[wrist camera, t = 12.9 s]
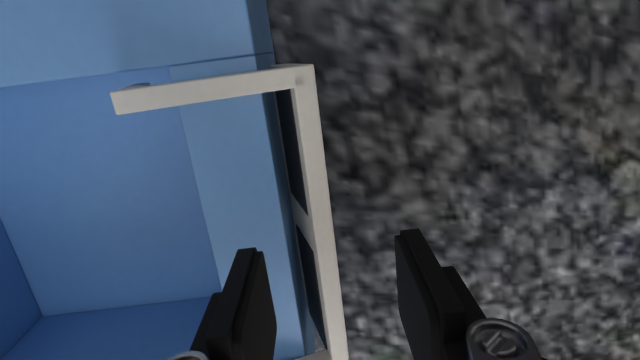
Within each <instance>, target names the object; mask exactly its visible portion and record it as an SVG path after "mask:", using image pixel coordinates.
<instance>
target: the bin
mask: <svg viewBox="0 0 640 360" xmlns="http://www.w3.org/2000/svg"><path fill="white" fill-rule="evenodd" d="M271 65H276V63H275V56H274V50H273V43H272V37H271V30H270V23H269V17H268V10H267V3H266V0H0V360H165V359H167V358H168V357H170V356H172V355H174V354H177V353H180V352H184V351H189V350H190V347H191V345H192V342H193V340H194V338H195V335H196V333H197V330H198V328H199V325H200V323H201V320H202V318H203V315H204V313H205V310H206V308H207V306H208V303H209V301H210V298H211V296H212V294H213V293H217V292H222V290H223V288H224V285H225V282H226V279H227V277H228V274H229V271H230V269H231V266H232V263H233V260H234V258H235V255H236V252H237V250H238V249H244V248H252V247H256V249H257V251H263V253H264V258H265V263H266V268H267V274H268V279H269V284H270V289H271V294H272V300H273V305H274V310H275V315H276V321H277V335H276V343H275V350H274V358H273V360H295V359H298V358H301V357H304V356H307V355H310V354H313V353H315V340H314V325H313V323H312V321H311V318H310V316H309V314H308V310H307V304H306V298H305V291H304V285H303V278H302V272H301V266H300V259H299V253H298V247H297V240H296V234H295V228H294V221H293V215H292V209H291V202H290V196H289V189H288V183H287V177H286V170H285V164H284V158H283V151H282V145H281V139H280V132H279V126H278V119H277V113H276V107H275V100H274V94H273V91H272V92H266V93H259V94H253V95H246V96H239V97H233V98H226V99H220V100H213V101H207V102H200V103H193V104H187V105H180V106H174V107H167V108H161V109H154V110H148V111H141V112H134V113H128V114H121V115H116V113H115V110H114V106H113V103H112V100H111V96H110V92H112V91H115V90H118V89H121V88H124V87H127V86H130V85H132V84H137V83H145V82H150V84H151V85H158V84H165V83H172V82H180V81H187V80H194V79H201V78H209V77H216V76H223V75H230V74H238V73H245V72H252V71H259V70H267V69H269V67H270V66H271Z"/></svg>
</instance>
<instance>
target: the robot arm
mask: <svg viewBox="0 0 640 360" xmlns="http://www.w3.org/2000/svg"><path fill="white" fill-rule="evenodd" d="M394 239H395V256H396V273H397V289H398V305H399V313H400V317H401V321H402V324H403V327H404V330H405V333H406V336H407V339H408V342H409V346H410V349H411V352H412V355H413V358H414V360H547V359H545V358H542V357H541V356H540V354H539V352H538V349H537V347H536V345H535V343H534V341H533V339H532V338H531V336H530V335H529V333H527V332H526V331H525V330H524V329H523V328H522V327H520V326H518V325H516V324H514V323H512V322H509V321H506V320H503V319H496V318H486V316H485V315H484V313H483V312H482V310H481V309H480V307H479V305H478V304H477V302H476V301H475V299H474V298H473V296H472V294H471V293H470V291H469V290H468V288H467V287H466V285H465V283H464V282H463V280H462V279H461V277H460V276H459V274H458V272H457V271H456V269H455V268H454V267H452V266H448V267H441V266H440V264H439V263H438V261H437V259H436V257H435V256H434V254H433V252H432V250H431V249H430V247H429V245H428V244H427V242H426V240H425V238H424V237H423V235H422V233H421V231H420V230H419V229H409V230H401V231H400V235H397V236H395V238H394ZM276 335H277V321H276V315H275V310H274V305H273V300H272V294H271V289H270V284H269V279H268V274H267V268H266V263H265V258H264V253H263V251H257V249H256V247H252V248H244V249H238V250H237V252H236V255H235V258H234V260H233V263H232V266H231V269H230V271H229V274H228V277H227V279H226V282H225V285H224V288H223V290H222V292H217V293H213V294H212V296H211V298H210V301H209V303H208V306H207V308H206V310H205V313H204V315H203V318H202V320H201V323H200V325H199V328H198V330H197V333H196V335H195V338H194V340H193V342H192V345H191V347H190V350H189V351H184V352H180V353H177V354H174V355H172V356H170V357H168V358H167V359H165V360H273V358H274V350H275V343H276Z"/></svg>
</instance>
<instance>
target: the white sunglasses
mask: <svg viewBox="0 0 640 360" xmlns="http://www.w3.org/2000/svg"><path fill="white" fill-rule="evenodd" d="M272 91H273V94H274V100H275V107H276V113H277V119H278V126H279V132H280V139H281V145H282V151H283V158H284V164H285V170H286V177H287V183H288V189H289V196H290V202H291V209H292V215H293V221H294V228H295V234H296V240H297V247H298V253H299V259H300V266H301V272H302V278H303V285H304V291H305V298H306V304H307V310H308V314H309V316H310V318H311V321H312V323H313V325H314V327H315V330H316V332H317V334H318V336H319V339H320V341H321V343H322V346H323V348H324V350H322V351H319V352H316V353H313V354H310V355H307V356H304V357H301V358H298V359H295V360H349V355H348V346H347V338H346V330H345V321H344V313H343V305H342V296H341V288H340V280H339V271H338V263H337V255H336V246H335V238H334V230H333V221H332V213H331V205H330V196H329V188H328V180H327V172H326V163H325V155H324V147H323V138H322V130H321V122H320V113H319V105H318V97H317V88H316V80H315V72H314V65H313V64H288V63H285V64H277V65H271V66H270V67H269V69H267V70H259V71H252V72H245V73H238V74H230V75H223V76H216V77H209V78H201V79H194V80H187V81H180V82H172V83H165V84H158V85H151V84H150V82H145V83H137V84H132V85H130V86H127V87H124V88H121V89H118V90H115V91H112V92H110V96H111V100H112V103H113V106H114V110H115V113H116V115H121V114H128V113H134V112H141V111H148V110H154V109H161V108H167V107H174V106H180V105H187V104H193V103H200V102H207V101H213V100H220V99H226V98H233V97H239V96H246V95H253V94H259V93H266V92H272Z"/></svg>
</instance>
